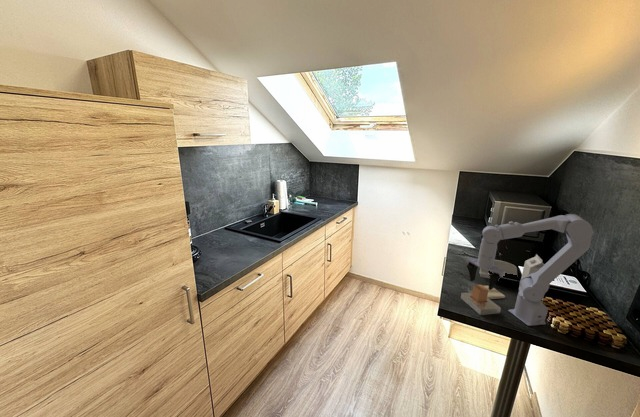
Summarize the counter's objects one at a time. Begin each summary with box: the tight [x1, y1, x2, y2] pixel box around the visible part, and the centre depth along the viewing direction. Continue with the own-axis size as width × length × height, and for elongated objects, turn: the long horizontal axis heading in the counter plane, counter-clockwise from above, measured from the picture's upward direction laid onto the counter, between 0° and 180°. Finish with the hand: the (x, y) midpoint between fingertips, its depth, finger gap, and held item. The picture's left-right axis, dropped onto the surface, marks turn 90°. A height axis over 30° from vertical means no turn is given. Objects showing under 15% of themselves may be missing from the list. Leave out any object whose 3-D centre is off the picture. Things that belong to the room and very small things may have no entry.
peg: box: [471, 284, 488, 303], centre depth 113 cm, size 4×4×8 cm
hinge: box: [478, 259, 518, 280], centre depth 136 cm, size 17×5×10 cm, turn 64°
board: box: [483, 284, 506, 300], centre depth 122 cm, size 9×9×1 cm
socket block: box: [460, 291, 502, 316], centre depth 113 cm, size 12×9×2 cm
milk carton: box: [518, 253, 546, 292], centre depth 119 cm, size 7×7×19 cm
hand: (481, 284), depth 112 cm, fingers open, 7 cm apart
